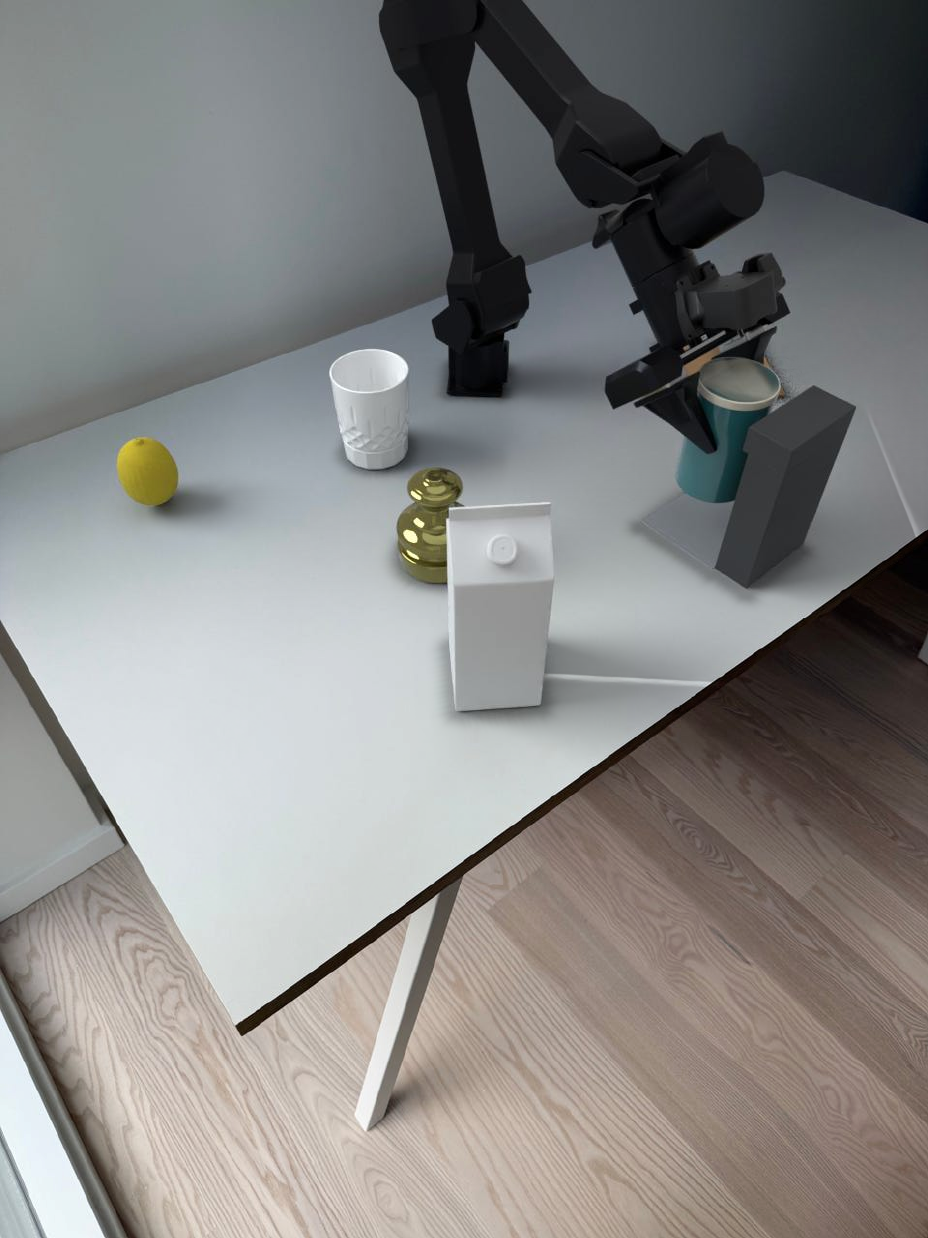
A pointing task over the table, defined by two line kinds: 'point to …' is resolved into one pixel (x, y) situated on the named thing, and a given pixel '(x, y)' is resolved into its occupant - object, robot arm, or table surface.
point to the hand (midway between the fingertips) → (737, 436)
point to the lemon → (147, 471)
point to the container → (726, 426)
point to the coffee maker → (765, 491)
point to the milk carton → (499, 603)
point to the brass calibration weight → (428, 523)
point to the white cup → (372, 406)
